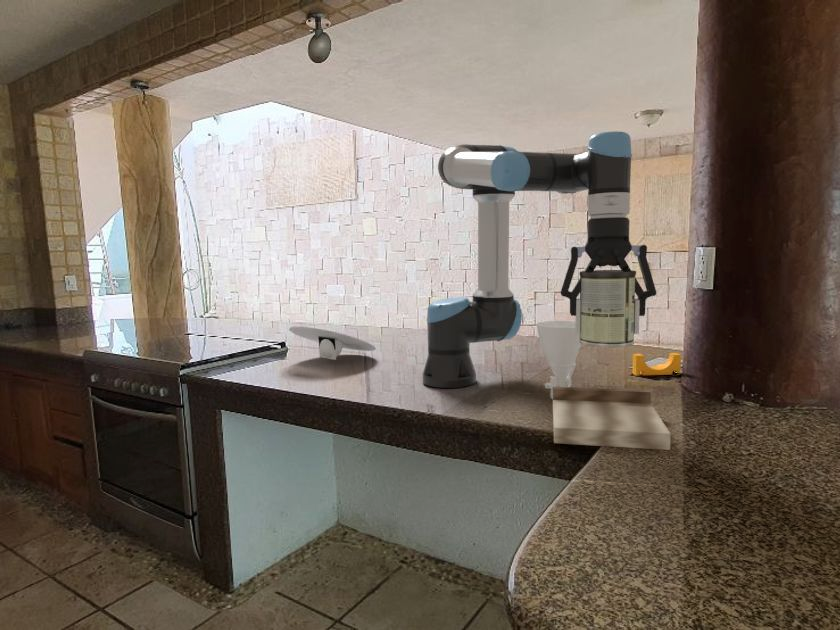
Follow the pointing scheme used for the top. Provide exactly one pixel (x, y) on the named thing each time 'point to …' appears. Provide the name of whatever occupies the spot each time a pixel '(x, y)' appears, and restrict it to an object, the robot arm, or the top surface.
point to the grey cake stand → (331, 341)
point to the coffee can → (607, 308)
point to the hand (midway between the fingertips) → (606, 332)
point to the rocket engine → (559, 350)
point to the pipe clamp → (660, 369)
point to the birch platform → (607, 418)
